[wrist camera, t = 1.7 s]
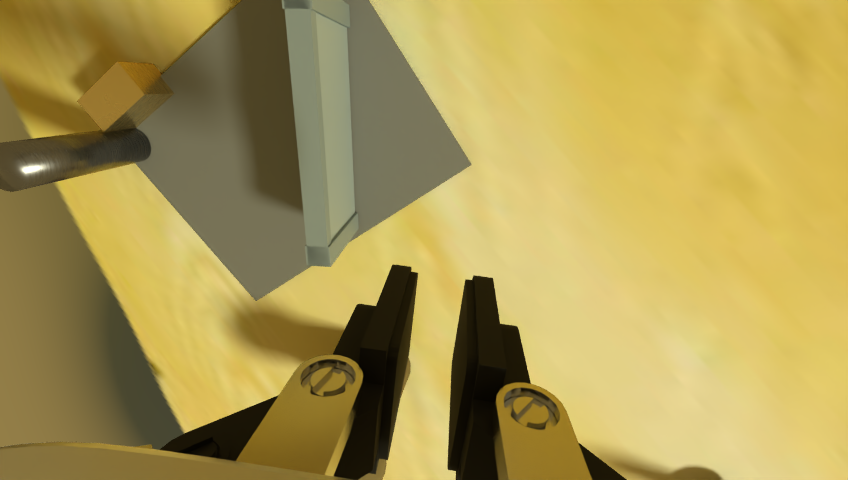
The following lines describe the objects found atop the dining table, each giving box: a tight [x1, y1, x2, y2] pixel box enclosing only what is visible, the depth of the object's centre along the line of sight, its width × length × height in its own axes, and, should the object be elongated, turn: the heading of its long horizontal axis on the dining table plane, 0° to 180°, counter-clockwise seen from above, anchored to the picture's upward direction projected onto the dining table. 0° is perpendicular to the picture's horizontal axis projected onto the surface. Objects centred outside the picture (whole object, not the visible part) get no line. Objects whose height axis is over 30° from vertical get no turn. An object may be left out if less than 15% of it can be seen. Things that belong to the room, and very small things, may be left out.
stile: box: [0, 61, 174, 192], centre depth 24 cm, size 6×4×9 cm, turn 124°
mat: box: [136, 0, 471, 301], centre depth 27 cm, size 20×16×1 cm
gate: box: [282, 0, 359, 267], centre depth 23 cm, size 14×1×6 cm, turn 179°
